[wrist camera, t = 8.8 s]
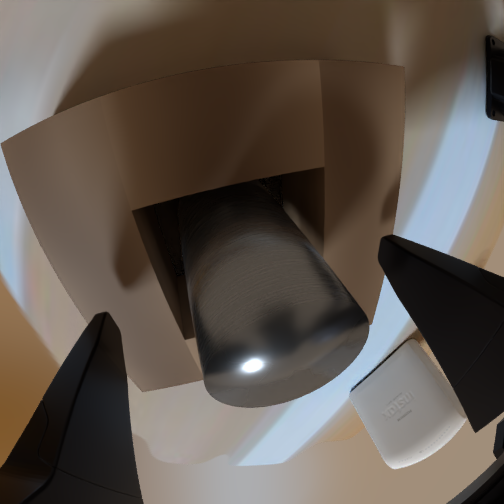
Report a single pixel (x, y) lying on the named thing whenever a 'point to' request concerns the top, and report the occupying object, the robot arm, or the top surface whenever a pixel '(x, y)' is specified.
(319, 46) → the top surface
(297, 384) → the grey metal cylinder
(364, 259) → the socket block
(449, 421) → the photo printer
